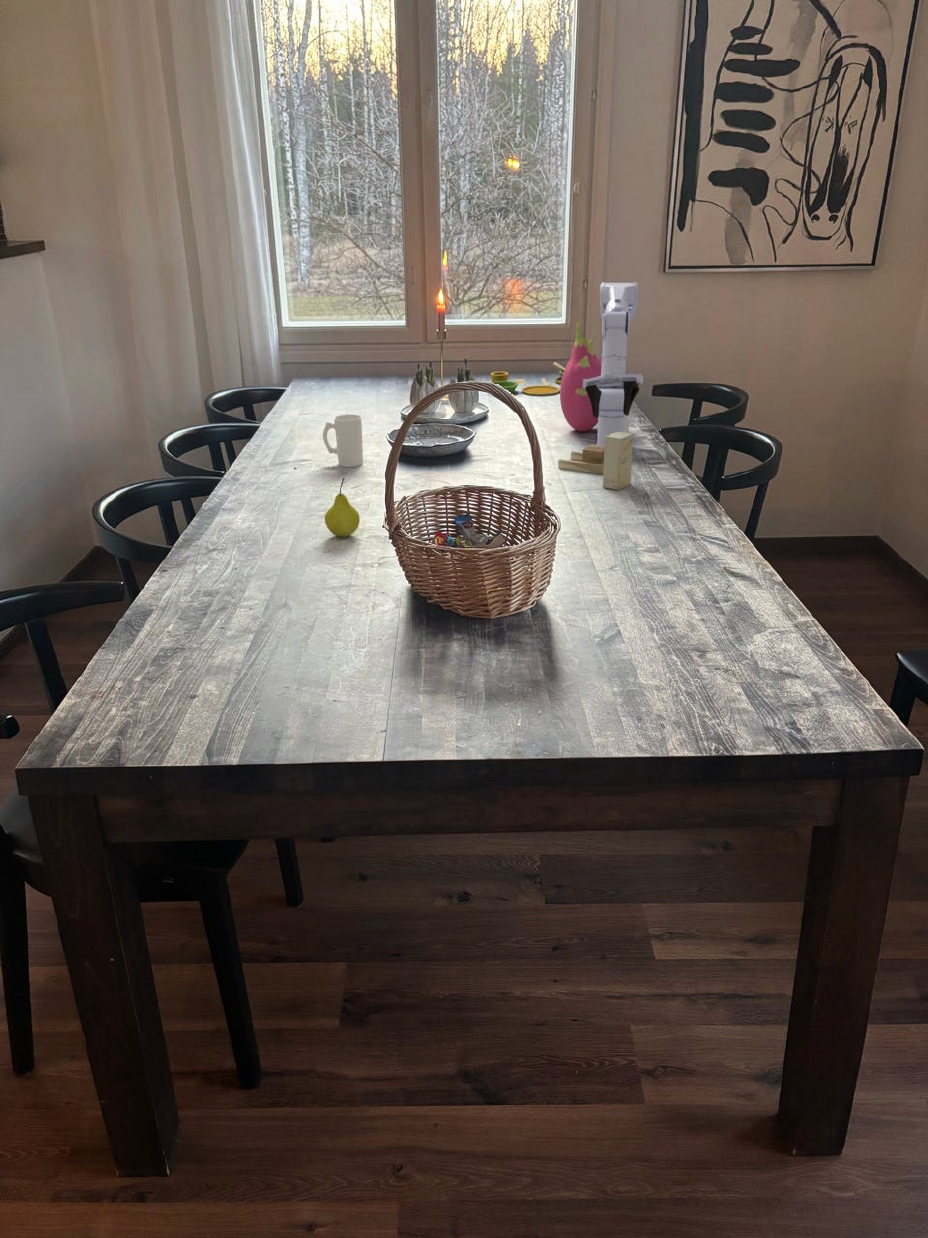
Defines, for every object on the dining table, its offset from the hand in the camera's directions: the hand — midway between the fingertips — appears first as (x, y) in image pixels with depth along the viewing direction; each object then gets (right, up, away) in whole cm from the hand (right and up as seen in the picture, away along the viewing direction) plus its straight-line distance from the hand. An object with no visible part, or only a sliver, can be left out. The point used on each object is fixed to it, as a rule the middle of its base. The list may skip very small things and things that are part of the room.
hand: (610, 415), depth 231 cm
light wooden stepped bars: (-4, -11, +10) cm, 15 cm away
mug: (-66, -9, +16) cm, 68 cm away
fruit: (-60, -32, -32) cm, 75 cm away
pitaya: (-1, +4, +41) cm, 42 cm away
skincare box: (+1, -18, -5) cm, 18 cm away
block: (-2, -11, +9) cm, 15 cm away
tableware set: (-7, +29, +95) cm, 100 cm away
